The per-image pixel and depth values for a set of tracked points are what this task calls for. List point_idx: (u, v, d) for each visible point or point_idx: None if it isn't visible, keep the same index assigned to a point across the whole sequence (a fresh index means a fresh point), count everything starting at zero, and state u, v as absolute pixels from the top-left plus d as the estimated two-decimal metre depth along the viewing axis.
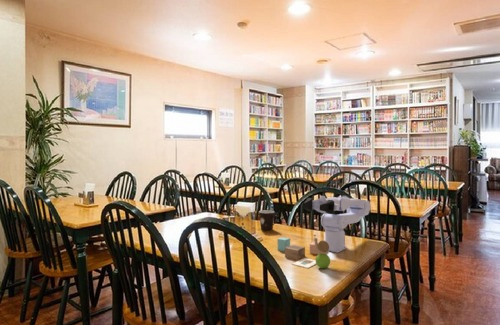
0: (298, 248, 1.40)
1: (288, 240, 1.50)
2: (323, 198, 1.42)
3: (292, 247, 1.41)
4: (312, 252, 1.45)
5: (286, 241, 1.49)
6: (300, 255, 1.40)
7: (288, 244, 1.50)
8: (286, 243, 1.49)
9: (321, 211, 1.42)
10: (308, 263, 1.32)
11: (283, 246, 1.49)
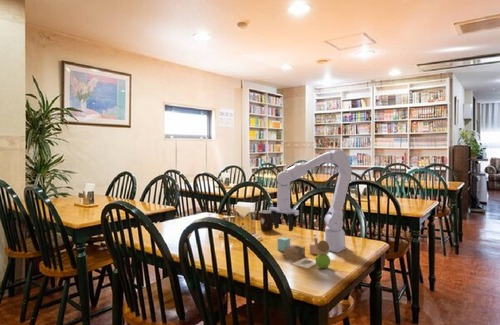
0: (298, 248, 1.40)
1: (288, 240, 1.50)
2: (280, 211, 1.48)
3: (292, 247, 1.41)
4: (312, 252, 1.45)
5: (286, 241, 1.49)
6: (301, 255, 1.40)
7: (288, 244, 1.50)
8: (286, 243, 1.49)
9: None
10: (308, 263, 1.32)
11: (283, 246, 1.49)
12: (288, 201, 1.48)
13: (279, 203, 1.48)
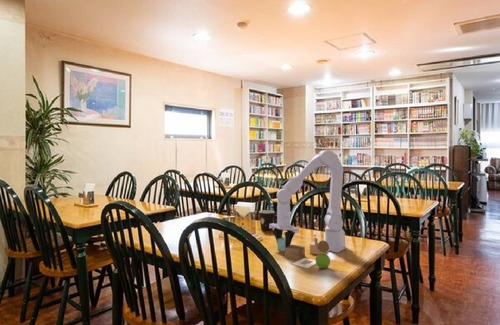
0: (298, 248, 1.40)
1: None
2: (280, 229, 1.48)
3: (292, 247, 1.41)
4: (312, 252, 1.45)
5: None
6: (301, 255, 1.40)
7: None
8: None
9: None
10: (308, 263, 1.32)
11: (283, 246, 1.49)
12: (288, 218, 1.49)
13: (279, 220, 1.49)
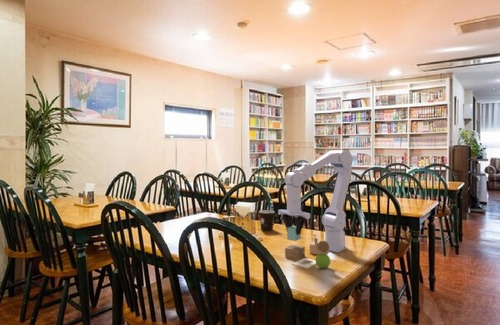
0: (298, 248, 1.40)
1: None
2: (290, 214, 1.39)
3: (292, 247, 1.41)
4: (312, 252, 1.45)
5: None
6: (301, 255, 1.40)
7: None
8: None
9: None
10: (308, 263, 1.32)
11: (293, 235, 1.40)
12: (299, 203, 1.40)
13: (289, 205, 1.40)
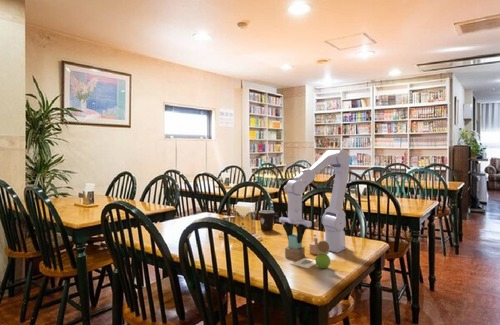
0: None
1: None
2: (292, 222, 1.38)
3: None
4: (312, 252, 1.45)
5: None
6: (301, 255, 1.40)
7: None
8: None
9: None
10: (308, 263, 1.32)
11: (294, 243, 1.39)
12: (300, 211, 1.39)
13: (290, 214, 1.39)
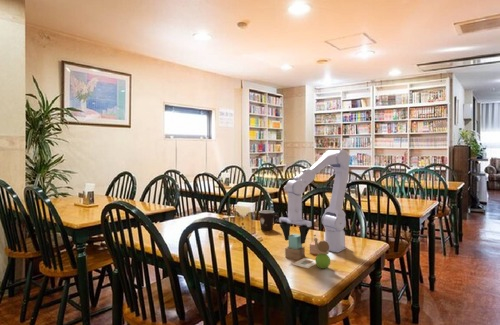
0: None
1: (300, 237, 1.41)
2: (292, 222, 1.38)
3: None
4: (312, 252, 1.45)
5: (298, 238, 1.39)
6: (301, 255, 1.40)
7: (300, 241, 1.41)
8: (298, 240, 1.39)
9: None
10: (308, 263, 1.32)
11: (295, 243, 1.39)
12: (300, 211, 1.39)
13: (290, 214, 1.39)
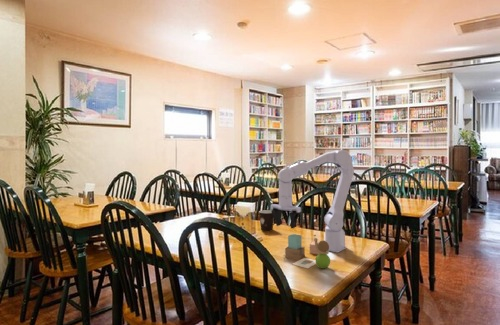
0: None
1: (299, 237, 1.41)
2: (282, 208, 1.47)
3: None
4: (312, 252, 1.45)
5: (297, 238, 1.39)
6: (301, 255, 1.40)
7: (299, 241, 1.41)
8: (298, 240, 1.39)
9: None
10: (308, 263, 1.32)
11: (294, 243, 1.39)
12: (290, 198, 1.48)
13: (281, 200, 1.48)
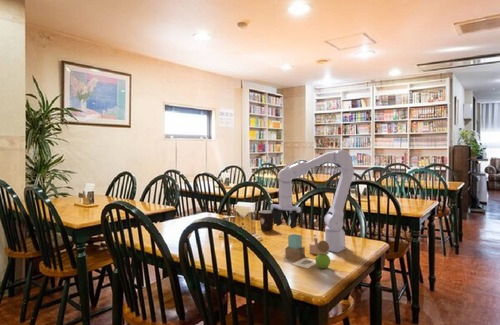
0: None
1: (300, 237, 1.41)
2: (282, 208, 1.47)
3: None
4: (312, 252, 1.45)
5: (297, 238, 1.39)
6: (301, 255, 1.40)
7: (300, 241, 1.41)
8: (297, 240, 1.39)
9: None
10: (308, 263, 1.32)
11: (294, 243, 1.39)
12: (290, 198, 1.48)
13: (281, 200, 1.48)
